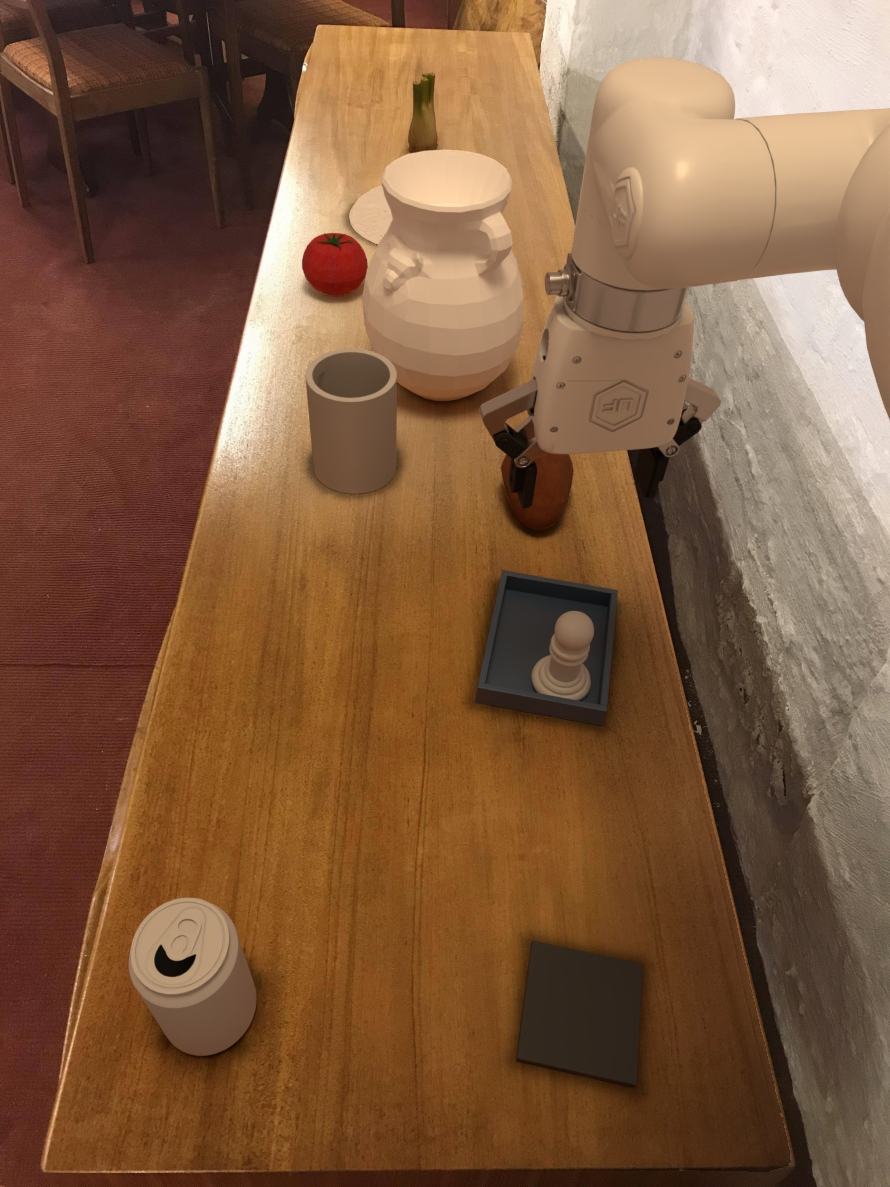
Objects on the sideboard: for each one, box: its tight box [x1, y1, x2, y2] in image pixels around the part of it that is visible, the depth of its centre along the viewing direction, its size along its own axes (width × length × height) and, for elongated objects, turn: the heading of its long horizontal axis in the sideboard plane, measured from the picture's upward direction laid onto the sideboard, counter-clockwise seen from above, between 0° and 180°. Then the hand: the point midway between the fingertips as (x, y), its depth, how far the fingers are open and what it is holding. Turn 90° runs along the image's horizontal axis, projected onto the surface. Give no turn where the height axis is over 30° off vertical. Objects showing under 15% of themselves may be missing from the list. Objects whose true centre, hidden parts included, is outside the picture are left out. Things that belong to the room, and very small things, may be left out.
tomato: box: [301, 232, 369, 297], centre depth 120 cm, size 9×9×8 cm
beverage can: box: [128, 897, 257, 1057], centre depth 57 cm, size 6×6×12 cm
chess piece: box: [531, 611, 594, 701], centre depth 77 cm, size 5×5×9 cm
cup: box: [305, 347, 398, 495], centre depth 95 cm, size 9×9×12 cm
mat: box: [515, 940, 644, 1088], centre depth 62 cm, size 8×8×1 cm
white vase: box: [361, 149, 525, 402], centre depth 101 cm, size 19×18×25 cm
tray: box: [475, 569, 619, 727], centre depth 82 cm, size 14×11×2 cm
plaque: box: [348, 184, 393, 245], centre depth 138 cm, size 20×20×2 cm
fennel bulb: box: [407, 72, 439, 153], centre depth 150 cm, size 6×5×12 cm
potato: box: [500, 435, 574, 531], centre depth 94 cm, size 8×12×8 cm, turn 179°
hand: (583, 491), depth 69 cm, fingers open, 9 cm apart
